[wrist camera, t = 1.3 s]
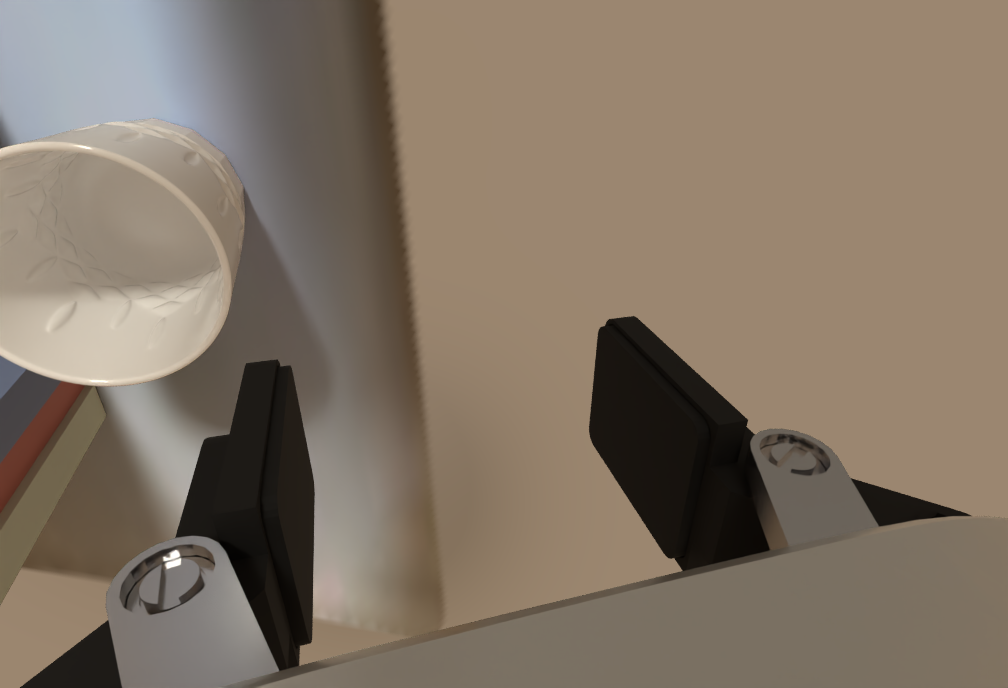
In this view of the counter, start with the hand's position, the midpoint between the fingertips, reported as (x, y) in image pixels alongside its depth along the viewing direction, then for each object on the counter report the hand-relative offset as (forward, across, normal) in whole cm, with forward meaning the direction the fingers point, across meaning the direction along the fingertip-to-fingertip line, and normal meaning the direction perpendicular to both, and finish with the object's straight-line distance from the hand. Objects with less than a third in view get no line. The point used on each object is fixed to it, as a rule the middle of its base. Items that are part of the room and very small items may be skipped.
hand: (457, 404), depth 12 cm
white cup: (+20, +10, 0) cm, 22 cm away
